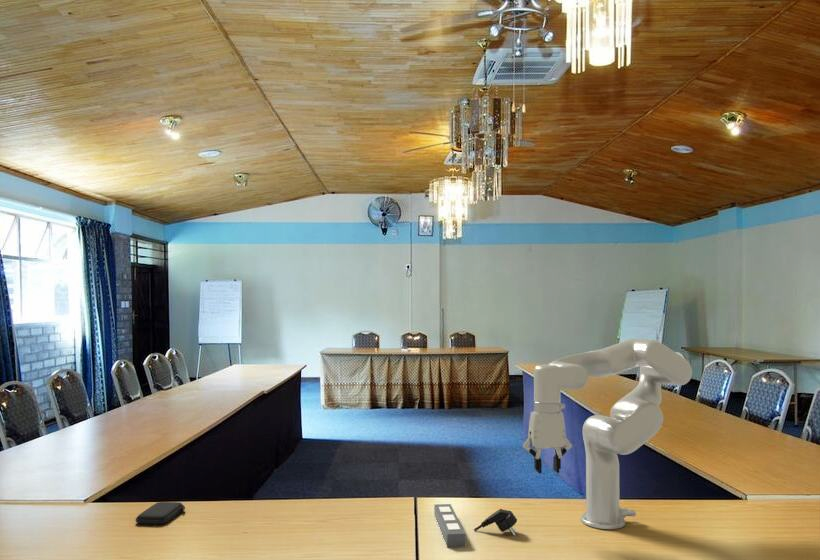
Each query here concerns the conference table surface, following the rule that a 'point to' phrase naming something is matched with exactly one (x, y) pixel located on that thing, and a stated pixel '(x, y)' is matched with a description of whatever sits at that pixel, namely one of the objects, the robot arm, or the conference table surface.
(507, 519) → the power plug
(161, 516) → the carrying case or bag
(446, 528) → the power strip
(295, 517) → the conference table surface
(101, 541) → the conference table surface
